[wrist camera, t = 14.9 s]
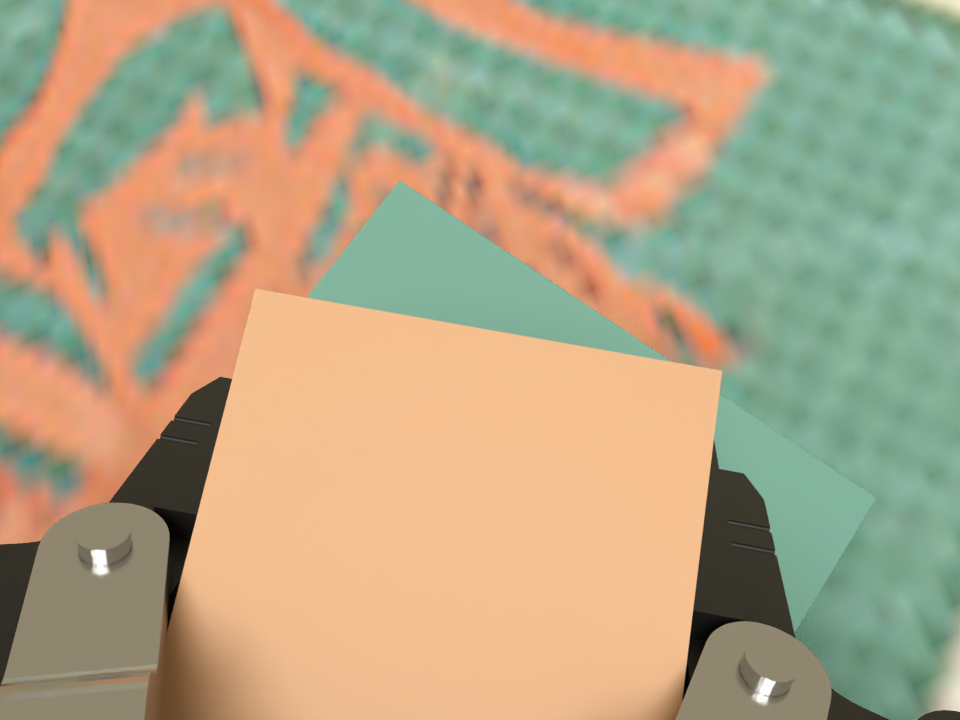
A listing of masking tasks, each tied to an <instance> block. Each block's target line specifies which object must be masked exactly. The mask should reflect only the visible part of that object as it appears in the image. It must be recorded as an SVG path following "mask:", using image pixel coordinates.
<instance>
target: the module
mask: <svg viewBox="0 0 960 720" xmlns="http://www.w3.org/2000/svg"><path fill="white" fill-rule="evenodd" d="M721 376H722V371H720V370H714V369H709V368H703V367H697V366H692V365H686V364H680V363H674V362H669V361H663V360H657V359H652V358H646V357H640V356H635V355H629V354H623V353H618V352H612V351H606V350H601V349H595V348H589V347H584V346H578V345H572V344H567V343H561V342H555V341H550V340H544V339H538V338H533V337H527V336H521V335H516V334H510V333H504V332H499V331H493V330H487V329H481V328H476V327H470V326H464V325H459V324H453V323H447V322H442V321H436V320H430V319H425V318H419V317H413V316H408V315H402V314H396V313H391V312H385V311H379V310H374V309H368V308H362V307H357V306H351V305H345V304H340V303H334V302H328V301H323V300H317V299H311V298H306V297H300V296H294V295H288V294H283V293H277V292H271V291H266V290H260V289H255V292H254V296H253V300H252V304H251V308H250V312H249V316H248V319H247V323H246V327H245V331H244V335H243V339H242V343H241V347H240V351H239V354H238V358H237V362H236V366H235V370H234V374H233V378H232V382H231V386H230V389H229V393H228V397H227V401H226V405H225V409H224V413H223V417H222V421H221V424H220V428H219V432H218V436H217V440H216V444H215V448H214V452H213V456H212V459H211V463H210V467H209V471H208V475H207V479H206V483H205V487H204V490H203V494H202V498H201V502H200V506H199V510H198V514H197V518H196V522H195V525H194V529H193V533H192V537H191V541H190V545H189V549H188V553H187V557H186V560H185V564H184V568H183V572H182V576H181V580H180V584H179V588H178V592H177V595H176V599H175V603H174V607H173V611H172V615H171V619H170V623H169V627H168V630H167V634H166V646H165V657H164V669H163V680H162V692H161V707H160V720H675V719H676V717H677V714H678V712H679V709H680V707H681V704H682V698H683V690H684V681H685V673H686V665H687V657H688V648H689V640H690V632H691V624H692V615H693V607H694V599H695V591H696V582H697V574H698V566H699V558H700V549H701V541H702V533H703V525H704V516H705V508H706V500H707V492H708V483H709V475H710V467H711V459H712V450H713V442H714V434H715V426H716V417H717V409H718V401H719V393H720V384H721Z"/></svg>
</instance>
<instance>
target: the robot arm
mask: <svg viewBox="0 0 960 720" xmlns="http://www.w3.org/2000/svg"><path fill="white" fill-rule="evenodd" d="M231 382H232V379H229V378H223V377H219V378H218V379H216V380H214V381H212V382H211V383H209V384H207V385H206V386H204V387H202V388H201V389H199V390H197V391H195V392H194V393H192V394H191V395H190V396H189V398H188V399H187V400H186V402H185V403H184V404H183V406H182V407H181V408H180V410H179V411H178V412H177V414H176V415H175V418H174V421H170V423H169V424H168V425H167V427H166V428H165V429H164V431H163V432H162V433H161V437H160V439H157V440H156V441H155V443H154V444H153V445H152V447H151V448H150V449H149V450H148V452H147V453H146V454H145V456H144V457H143V458H142V460H141V461H140V462H139V464H138V465H137V466H136V468H135V469H134V470H133V472H132V473H131V474H130V475H129V477H128V478H127V479H126V481H125V482H124V483H123V485H122V486H121V487H120V489H119V490H118V491H117V493H116V494H115V495H114V497H113V498H112V499H111V501H110V502H109V503H104V504H98V505H93V506H89V507H86V508H83V509H80V510H77V511H75V512H73V513H71V514H69V515H67V516H65V517H64V518H62V519H60V520H59V521H58V522H57V523H55V524H54V525H53V526H52V527H51V528H50V529H49V530H48V531H47V532H46V533H45V535H44V536H43V538H42V539H41V541H38V542H31V543H21V544H2V545H0V720H160V707H161V692H162V680H163V669H164V657H165V646H166V634H167V630H168V627H169V623H170V619H171V615H172V611H173V607H174V603H175V599H176V595H177V592H178V588H179V584H180V580H181V576H182V572H183V568H184V564H185V560H186V557H187V553H188V549H189V545H190V541H191V537H192V533H193V529H194V525H195V522H196V518H197V514H198V510H199V506H200V502H201V498H202V494H203V490H204V487H205V483H206V479H207V475H208V471H209V467H210V463H211V459H212V456H213V452H214V448H215V444H216V440H217V436H218V432H219V428H220V424H221V421H222V417H223V413H224V409H225V405H226V401H227V397H228V393H229V389H230V386H231ZM675 720H889V719H886V718H884V717H882V716H880V715H878V714H876V713H873V712H871V711H869V710H867V709H865V708H862V707H860V706H858V705H857V704H855V703H853V702H851V701H849V700H847V699H846V698H844V697H843V696H841V695H840V694H838V693H837V692H835V691H834V690H833V689H832V688H831V684H830V681H829V678H828V675H827V673H826V671H825V669H824V667H823V666H822V664H821V663H820V661H819V660H818V659H817V657H816V656H815V655H814V654H813V653H812V652H811V651H810V650H809V649H808V648H807V647H806V646H805V645H803V644H802V643H801V642H800V641H798V640H797V639H796V638H795V634H794V629H793V625H792V621H791V616H790V612H789V607H788V603H787V599H786V594H785V590H784V585H783V581H782V576H781V572H780V568H779V563H778V559H777V555H775V545H774V541H773V537H772V533H771V532H770V523H769V519H768V514H767V510H766V506H765V501H764V499H763V498H762V496H761V495H760V494H759V492H758V491H757V490H756V488H755V487H754V486H753V485H752V483H751V482H750V481H749V479H748V478H747V477H746V475H745V474H744V473H739V472H734V471H728V470H723V469H719V465H718V459H717V453H716V447H715V441H714V442H713V450H712V459H711V467H710V475H709V483H708V492H707V500H706V508H705V516H704V525H703V533H702V541H701V549H700V558H699V566H698V574H697V582H696V591H695V599H694V607H693V615H692V624H691V632H690V640H689V648H688V657H687V665H686V673H685V681H684V690H683V698H682V704H681V707H680V709H679V712H678V714H677V717H676V719H675ZM918 720H960V712H957V711H947V710H942V711H934V712H930V713H927V714H925V715H924V716H922V717H920V718H919V719H918Z"/></svg>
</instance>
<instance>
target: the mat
mask: <svg viewBox="0 0 960 720" xmlns="http://www.w3.org/2000/svg"><path fill="white" fill-rule="evenodd" d="M307 298H311V299H317V300H323V301H328V302H334V303H340V304H345V305H351V306H357V307H362V308H368V309H374V310H379V311H385V312H391V313H396V314H402V315H408V316H413V317H419V318H425V319H430V320H436V321H442V322H447V323H453V324H459V325H464V326H470V327H476V328H481V329H487V330H493V331H499V332H504V333H510V334H516V335H521V336H527V337H533V338H538V339H544V340H550V341H555V342H561V343H567V344H572V345H578V346H584V347H589V348H595V349H601V350H606V351H612V352H618V353H623V354H629V355H635V356H640V357H646V358H652V359H657V360H663V361H669V362H671V361H670V360H668V359H667V358H665V357H664V356H662V355H661V354H659V353H658V352H656V351H655V350H653V349H652V348H650V347H649V346H647V345H646V344H644V343H643V342H641V341H640V340H638V339H637V338H635V337H634V336H632V335H631V334H629V333H628V332H626V331H625V330H623V329H622V328H620V327H619V326H617V325H616V324H614V323H613V322H611V321H610V320H608V319H607V318H605V317H604V316H602V315H601V314H599V313H598V312H596V311H595V310H593V309H592V308H590V307H589V306H587V305H586V304H584V303H583V302H581V301H580V300H578V299H577V298H575V297H574V296H572V295H571V294H569V293H568V292H566V291H565V290H563V289H562V288H560V287H559V286H557V285H556V284H554V283H553V282H551V281H550V280H548V279H547V278H545V277H544V276H542V275H541V274H539V273H538V272H536V271H535V270H533V269H532V268H530V267H529V266H527V265H526V264H524V263H523V262H521V261H520V260H518V259H517V258H515V257H514V256H512V255H511V254H509V253H508V252H506V251H505V250H503V249H502V248H500V247H499V246H497V245H496V244H494V243H493V242H491V241H490V240H488V239H487V238H485V237H484V236H482V235H481V234H479V233H478V232H476V231H475V230H473V229H472V228H470V227H469V226H467V225H466V224H464V223H463V222H461V221H460V220H458V219H457V218H455V217H454V216H452V215H451V214H449V213H448V212H446V211H445V210H443V209H442V208H440V207H439V206H437V205H436V204H434V203H433V202H431V201H430V200H428V199H427V198H425V197H424V196H422V195H421V194H419V193H418V192H416V191H415V190H413V189H412V188H410V187H409V186H407V185H406V184H404V183H403V182H401V181H399V182H398V183H397V185H396V186H395V187H394V188H393V190H392V191H391V192H390V193H389V195H388V196H387V197H386V198H385V200H384V201H383V202H382V203H381V205H380V206H379V207H378V209H377V210H376V211H375V212H374V214H373V215H372V216H371V217H370V219H369V220H368V221H367V222H366V224H365V225H364V226H363V227H362V229H361V230H360V231H359V232H358V234H357V235H356V236H355V237H354V239H353V240H352V241H351V243H350V244H349V245H348V246H347V248H346V249H345V250H344V251H343V253H342V254H341V255H340V256H339V258H338V259H337V260H336V261H335V263H334V264H333V265H332V266H331V268H330V269H329V270H328V271H327V273H326V274H325V275H324V277H323V278H322V279H321V280H320V282H319V283H318V284H317V285H316V287H315V288H314V289H313V290H312V292H311V293H310V294H309V295H308V297H307ZM714 441H715V447H716V453H717V459H718V465H719V469H723V470H728V471H734V472H739V473H744V474H745V475H746V477H747V478H748V479H749V481H750V482H751V483H752V485H753V486H754V487H755V488H756V490H757V491H758V492H759V494H760V495H761V496H762V498H763V499H764V501H765V506H766V510H767V514H768V519H769V523H770V532H771V533H772V537H773V541H774V545H775V555H777V559H778V563H779V568H780V572H781V576H782V581H783V585H784V590H785V594H786V599H787V603H788V607H789V612H790V616H791V621H792V625H793V629H794V634H795V632H796V630H797V629H798V627H799V625H800V624H801V622H802V620H803V619H804V617H805V615H806V614H807V612H808V610H809V609H810V607H811V605H812V604H813V602H814V600H815V599H816V597H817V595H818V594H819V592H820V590H821V589H822V587H823V585H824V584H825V582H826V580H827V579H828V577H829V575H830V574H831V572H832V570H833V569H834V567H835V565H836V564H837V562H838V560H839V559H840V557H841V555H842V554H843V552H844V550H845V549H846V547H847V545H848V544H849V542H850V540H851V539H852V537H853V535H854V534H855V532H856V530H857V529H858V527H859V525H860V524H861V522H862V520H863V519H864V517H865V515H866V514H867V512H868V510H869V509H870V507H871V505H872V504H873V502H874V500H875V499H876V497H874V496H873V495H871V494H870V493H868V492H867V491H865V490H864V489H862V488H861V487H859V486H858V485H856V484H855V483H853V482H852V481H850V480H849V479H847V478H846V477H844V476H843V475H841V474H840V473H838V472H837V471H835V470H834V469H832V468H831V467H829V466H828V465H826V464H825V463H823V462H822V461H820V460H819V459H817V458H816V457H814V456H813V455H811V454H810V453H808V452H807V451H805V450H804V449H802V448H801V447H799V446H798V445H796V444H795V443H793V442H792V441H790V440H789V439H787V438H786V437H784V436H782V435H781V434H779V433H778V432H776V431H775V430H773V429H772V428H770V427H769V426H767V425H766V424H764V423H763V422H761V421H760V420H758V419H757V418H755V417H754V416H752V415H751V414H749V413H748V412H746V411H745V410H743V409H742V408H740V407H739V406H737V405H736V404H734V403H733V402H731V401H730V400H728V399H727V398H725V397H724V396H722V395H721V394H719V401H718V409H717V417H716V426H715V434H714Z"/></svg>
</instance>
